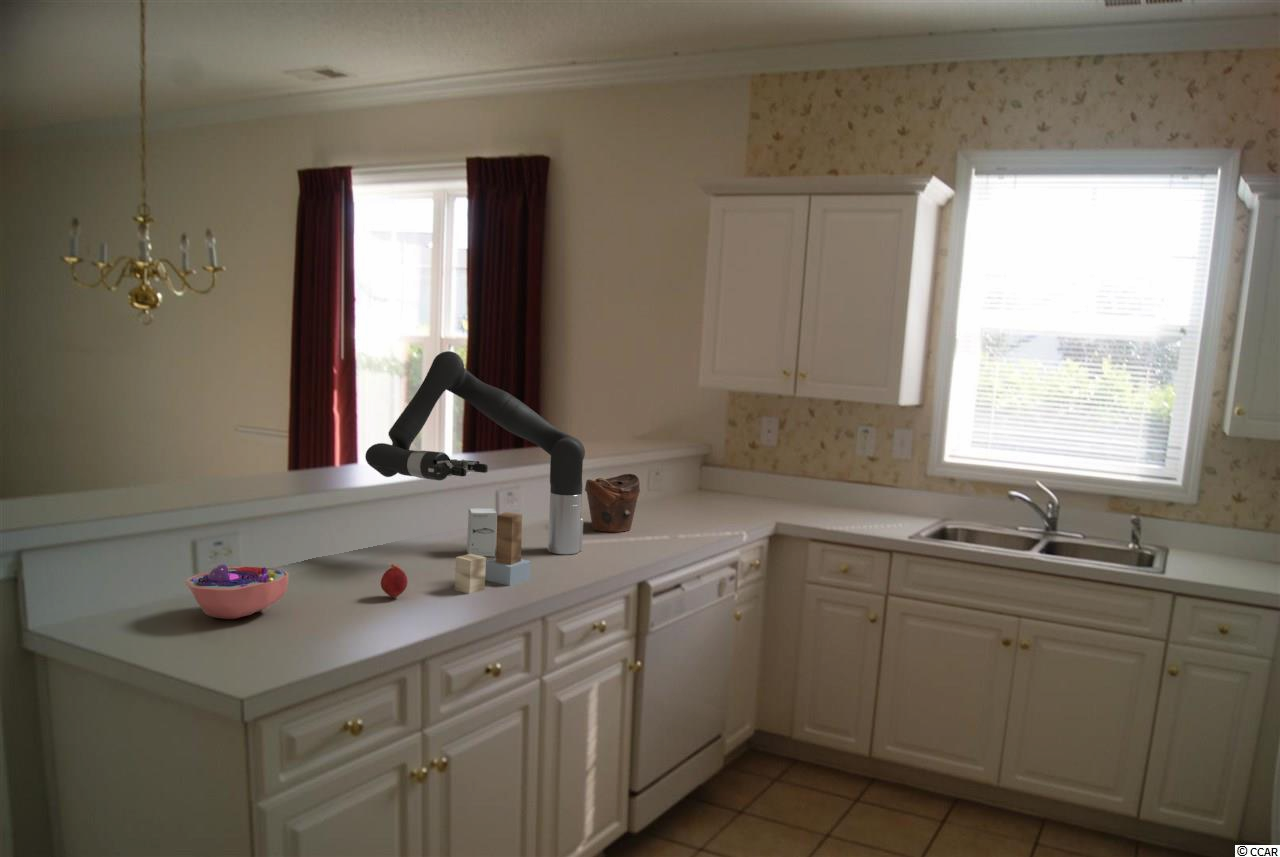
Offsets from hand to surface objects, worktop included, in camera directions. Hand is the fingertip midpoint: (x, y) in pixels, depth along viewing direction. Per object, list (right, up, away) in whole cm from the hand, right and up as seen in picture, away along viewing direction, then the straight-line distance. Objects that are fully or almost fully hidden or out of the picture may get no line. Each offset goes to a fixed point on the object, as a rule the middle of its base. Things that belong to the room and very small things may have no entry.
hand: (476, 470), depth 227 cm
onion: (-14, -28, -26) cm, 41 cm away
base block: (+9, -28, -5) cm, 30 cm away
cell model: (-41, -28, -44) cm, 67 cm away
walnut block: (+9, -23, -6) cm, 25 cm away
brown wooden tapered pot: (+33, -23, +64) cm, 75 cm away
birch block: (+1, -28, -16) cm, 32 cm away
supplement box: (-2, -25, +20) cm, 32 cm away
